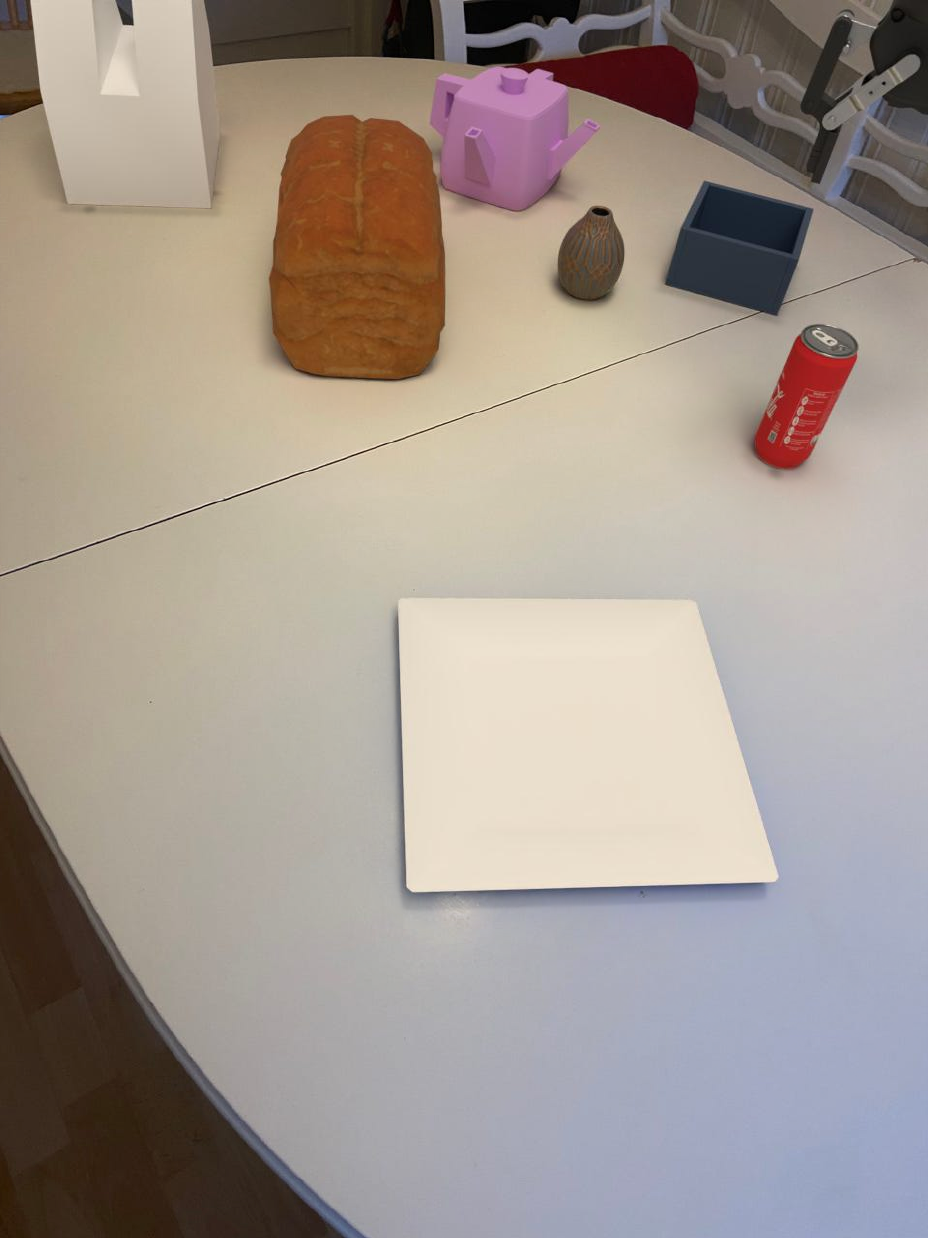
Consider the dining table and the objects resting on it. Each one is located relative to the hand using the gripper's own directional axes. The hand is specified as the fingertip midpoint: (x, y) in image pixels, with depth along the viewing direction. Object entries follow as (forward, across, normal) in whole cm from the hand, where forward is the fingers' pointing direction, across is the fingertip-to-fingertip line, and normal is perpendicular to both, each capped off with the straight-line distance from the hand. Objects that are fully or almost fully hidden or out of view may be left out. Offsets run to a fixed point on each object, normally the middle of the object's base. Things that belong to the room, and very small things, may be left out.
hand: (873, 193), depth 68 cm
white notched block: (+24, +77, -15) cm, 82 cm away
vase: (+23, +23, -16) cm, 37 cm away
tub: (+23, +9, -29) cm, 38 cm away
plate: (+24, +7, +39) cm, 46 cm away
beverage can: (+23, -1, +1) cm, 23 cm away
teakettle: (+23, +39, -35) cm, 58 cm away
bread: (+24, +43, -2) cm, 49 cm away
